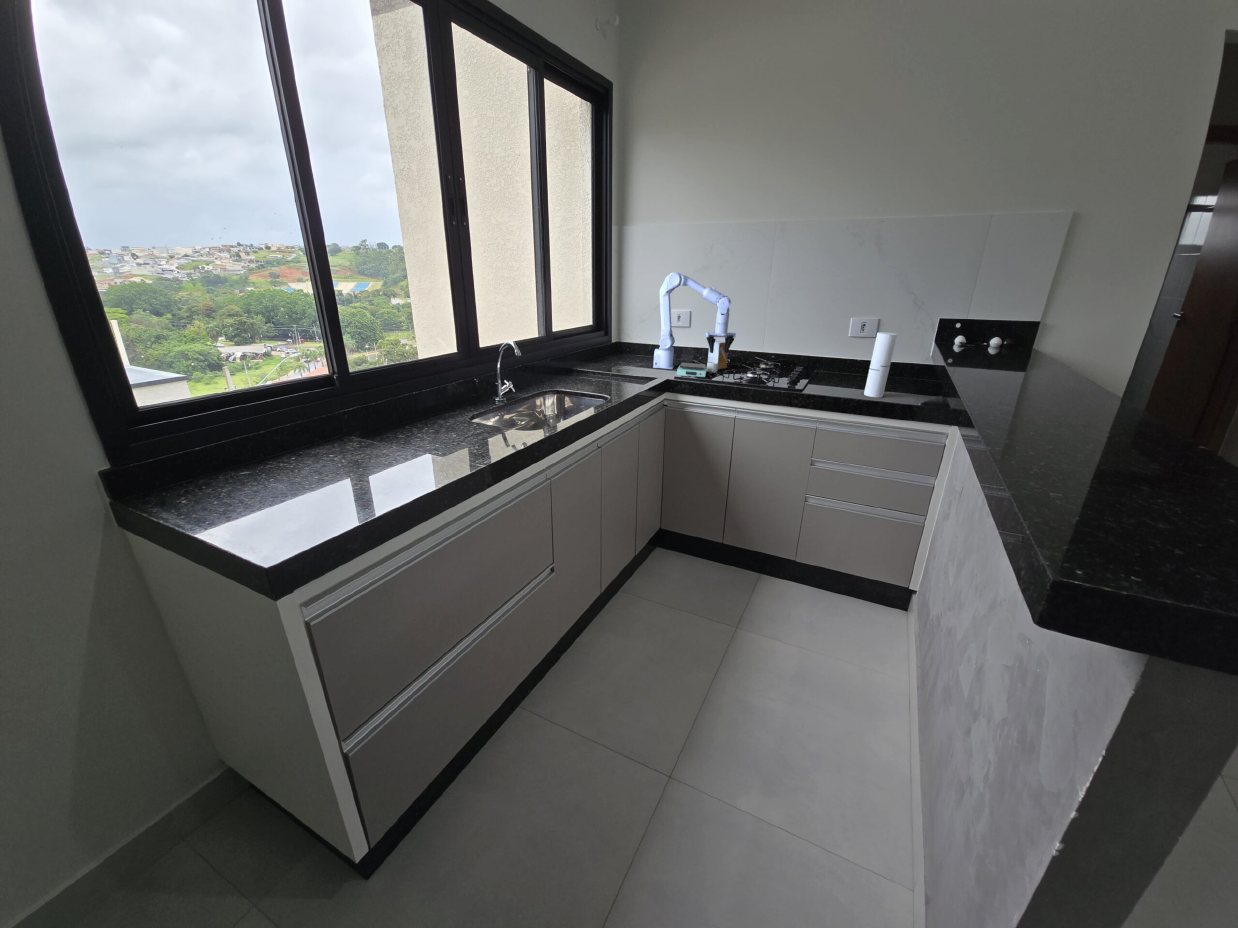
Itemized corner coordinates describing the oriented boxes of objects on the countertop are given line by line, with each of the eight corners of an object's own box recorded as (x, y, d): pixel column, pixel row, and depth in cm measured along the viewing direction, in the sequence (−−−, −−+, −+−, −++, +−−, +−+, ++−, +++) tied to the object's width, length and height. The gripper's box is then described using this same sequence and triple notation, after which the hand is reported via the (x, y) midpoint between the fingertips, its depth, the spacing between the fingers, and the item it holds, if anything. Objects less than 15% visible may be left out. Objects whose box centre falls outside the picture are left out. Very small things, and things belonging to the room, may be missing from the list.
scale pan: (679, 367, 233) (679, 365, 233) (681, 364, 241) (681, 362, 241) (703, 369, 231) (703, 367, 231) (704, 366, 239) (705, 364, 239)
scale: (676, 375, 233) (677, 369, 232) (679, 370, 244) (679, 365, 243) (705, 377, 231) (705, 371, 230) (706, 372, 241) (706, 367, 240)
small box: (717, 370, 249) (719, 343, 244) (706, 368, 253) (708, 341, 249) (726, 368, 254) (729, 341, 250) (716, 366, 258) (718, 340, 254)
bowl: (706, 372, 242) (707, 363, 240) (706, 370, 247) (707, 361, 245) (717, 373, 241) (718, 363, 239) (717, 371, 246) (718, 362, 244)
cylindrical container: (884, 398, 205) (899, 335, 196) (866, 396, 206) (880, 333, 197) (880, 394, 211) (894, 333, 202) (862, 392, 213) (875, 331, 204)
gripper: (711, 324, 231) (708, 354, 236) (740, 324, 234) (736, 354, 239) (705, 322, 237) (702, 351, 242) (733, 322, 241) (729, 351, 246)
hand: (718, 352), depth 241 cm, fingers open, 7 cm apart
